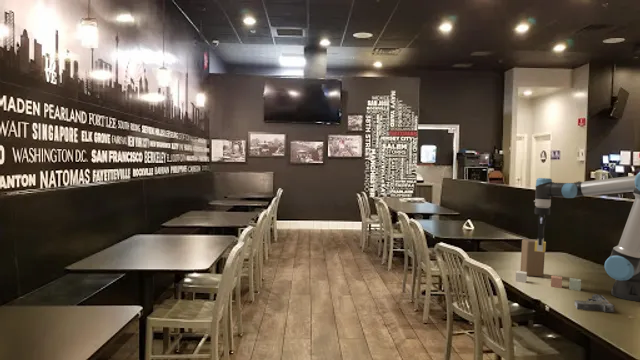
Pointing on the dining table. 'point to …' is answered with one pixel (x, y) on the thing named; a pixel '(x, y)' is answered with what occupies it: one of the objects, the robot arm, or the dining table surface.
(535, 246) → the mustard cube
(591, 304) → the handgun
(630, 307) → the dining table surface
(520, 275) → the cream cube
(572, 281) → the sage cube
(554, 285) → the terracotta cube
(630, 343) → the dining table surface
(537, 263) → the wooden block
